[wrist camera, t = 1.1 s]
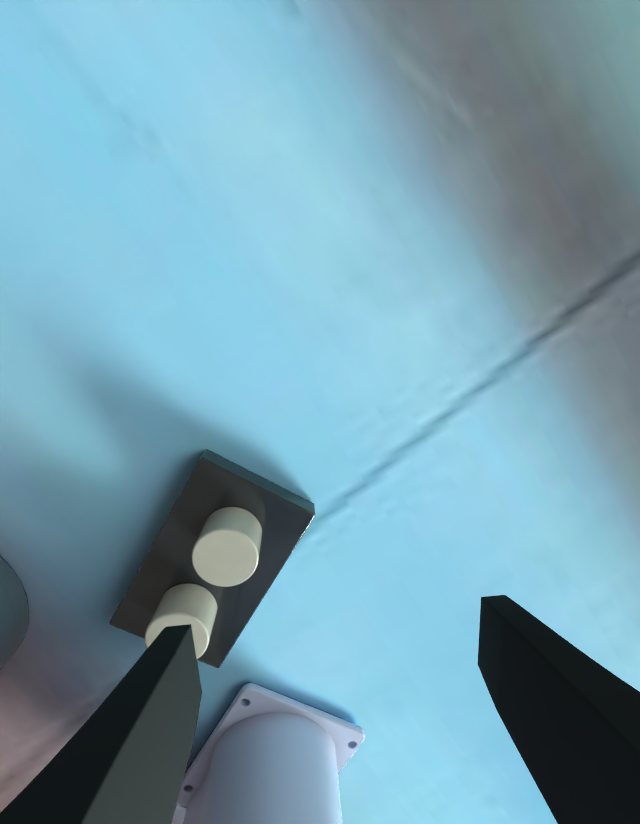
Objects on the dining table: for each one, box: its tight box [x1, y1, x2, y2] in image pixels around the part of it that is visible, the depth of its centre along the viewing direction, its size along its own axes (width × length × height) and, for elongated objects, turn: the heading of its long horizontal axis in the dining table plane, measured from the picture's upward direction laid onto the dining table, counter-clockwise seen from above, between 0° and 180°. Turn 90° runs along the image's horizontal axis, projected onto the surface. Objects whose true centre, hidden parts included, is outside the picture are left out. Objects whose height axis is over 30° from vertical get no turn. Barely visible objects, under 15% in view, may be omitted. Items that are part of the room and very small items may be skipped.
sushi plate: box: [110, 449, 315, 668], centre depth 18 cm, size 10×6×3 cm, turn 149°
